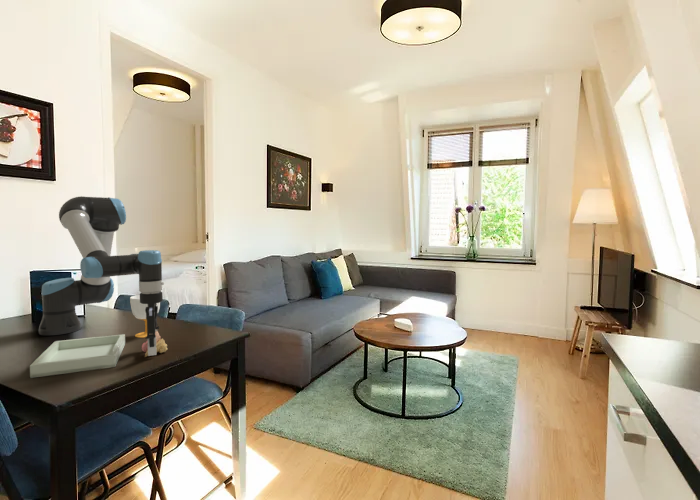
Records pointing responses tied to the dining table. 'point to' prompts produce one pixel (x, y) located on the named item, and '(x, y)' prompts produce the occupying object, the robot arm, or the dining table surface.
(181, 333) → the dining table surface
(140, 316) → the cup
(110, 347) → the tray
